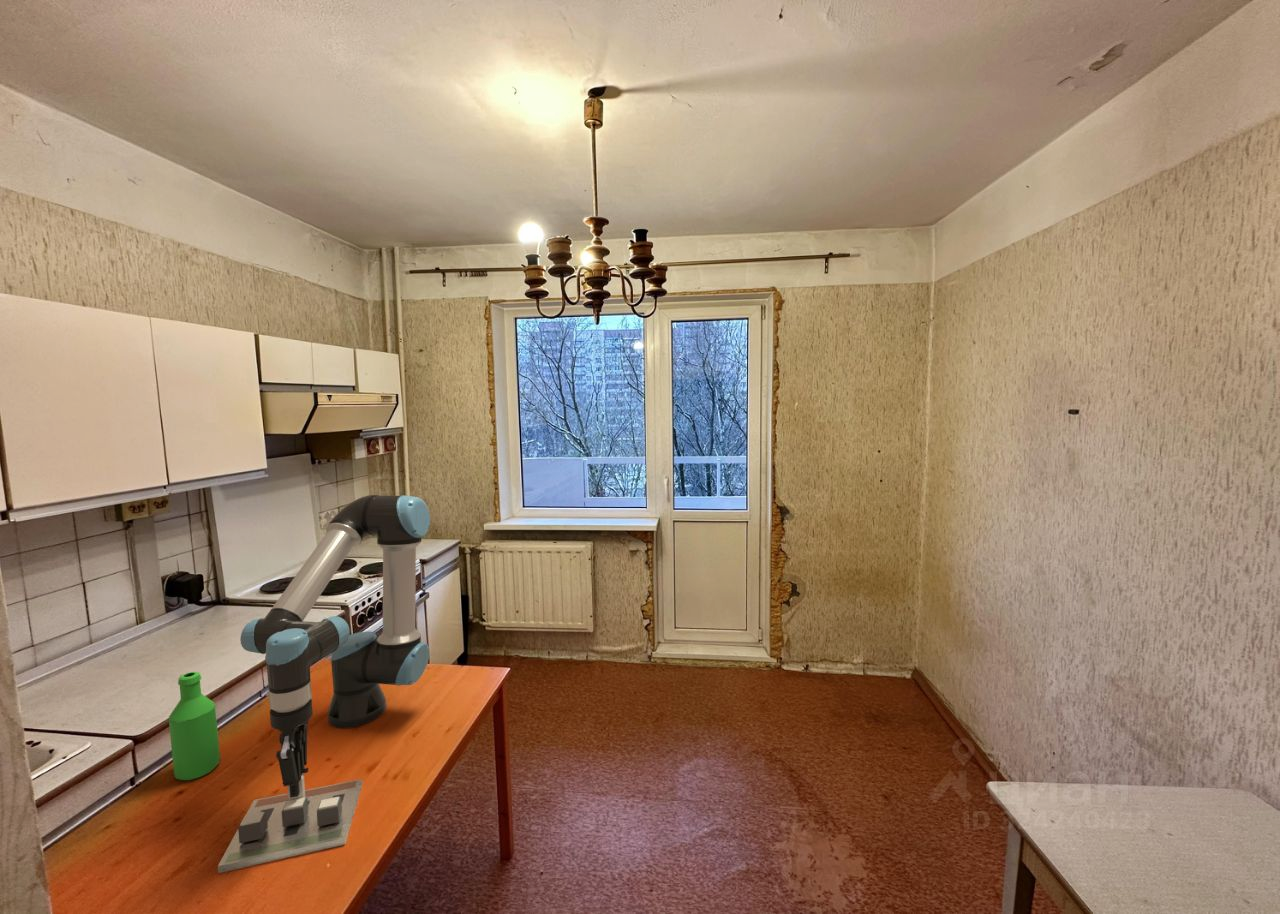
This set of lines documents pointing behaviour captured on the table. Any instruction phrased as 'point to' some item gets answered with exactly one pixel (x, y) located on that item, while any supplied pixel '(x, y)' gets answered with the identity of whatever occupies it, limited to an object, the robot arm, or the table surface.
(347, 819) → the panel
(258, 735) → the table surface
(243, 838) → the breaker
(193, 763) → the bottle
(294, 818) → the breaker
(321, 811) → the block
